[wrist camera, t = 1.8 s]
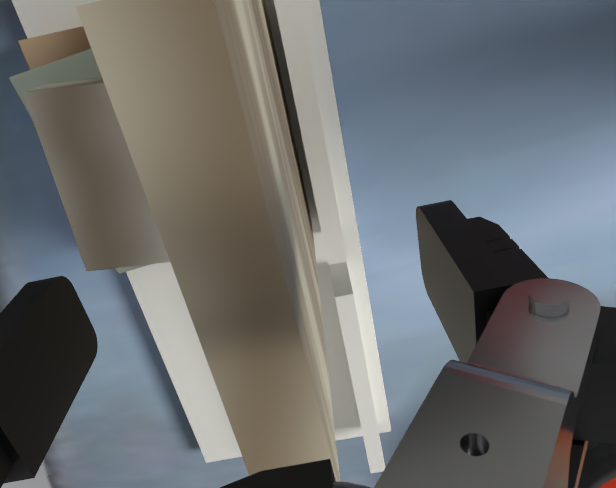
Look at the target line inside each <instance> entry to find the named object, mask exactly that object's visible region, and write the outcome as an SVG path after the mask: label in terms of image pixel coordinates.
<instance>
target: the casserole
mask: <svg viewBox="0 0 616 488" xmlns="http://www.w3.org/2000/svg"><path fill="white" fill-rule="evenodd" d="M578 488H616V444H612V443H602V442H592V441H588V445H587V450H586V454H585V458H584V463H583V467H582V471H581V476H580V480H579V484H578Z"/></svg>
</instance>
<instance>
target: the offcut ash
mask: <svg viewBox="0 0 616 488" xmlns="http://www.w3.org/2000/svg"><path fill="white" fill-rule="evenodd" d="M23 94H24V97H25V100H26V103H27V106H28V108H29V111H30V114H31V117H32V120H33V122H34V125H35V128H36V131H37V134H38V136H39V139H40V142H41V145H42V148H43V150H44V153H45V156H46V159H47V162H48V164H49V167H50V170H51V173H52V176H53V178H54V181H55V184H56V187H57V190H58V192H59V195H60V198H61V201H62V204H63V206H64V209H65V212H66V215H67V218H68V220H69V223H70V226H71V229H72V232H73V234H74V237H75V240H76V243H77V246H78V248H79V251H80V254H81V257H82V259H83V262H84V265H85V268H86V271H93V270H102V269H111V268H120V267H129V266H138V265H147V264H155V263H164V262H170V260H169V257H168V254H167V252H166V249H165V246H164V243H163V241H162V238H161V235H160V233H159V230H158V227H157V225H156V222H155V219H154V216H153V214H152V211H151V208H150V206H149V203H148V200H147V198H146V195H145V192H144V189H143V187H142V184H141V181H140V179H139V176H138V173H137V171H136V168H135V165H134V162H133V160H132V157H131V154H130V152H129V149H128V146H127V144H126V141H125V138H124V135H123V133H122V130H121V127H120V125H119V122H118V119H117V116H116V114H115V111H114V108H113V106H112V103H111V100H110V98H109V95H108V92H107V89H106V87H105V84H104V81H103V79H102V77H101V78H93V79H84V80H76V81H68V82H59V83H51V84H44V85H42V86H39V87H37V88H34V89H31V90H29V91H26V92H23Z"/></svg>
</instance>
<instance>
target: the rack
mask: <svg viewBox="0 0 616 488" xmlns="http://www.w3.org/2000/svg"><path fill="white" fill-rule="evenodd" d="M97 1H101V0H12V3H13V5H14V7H15V10H16V12H17V15H18V17H19V19H20V22H21V24H22V26H23V29H24V31H25V34H26V36H27V38H32V37H37V36H41V35H46V34H50V33H55V32H59V31H64V30H68V29H73V28H77V27H82V26H83V25H82V22H81V19H80V17H79V14H78V11H77V8H76V6H79V5H83V4H88V3H92V2H97ZM265 1H266V6H267V11H268V16H269V20H270V25H271V30H272V35H273V39H274V44H275V49H276V53H277V58H278V63H279V68H280V72H281V77H282V82H283V86H284V91H285V96H286V101H287V105H288V110H289V115H290V119H291V124H292V129H293V134H294V138H295V143H296V148H297V152H298V157H299V162H300V167H301V171H302V176H303V181H304V185H305V190H306V195H307V200H308V204H309V209H310V214H311V219H312V228H313V237H314V247H315V256H316V265H317V274H318V283H319V292H320V301H321V311H322V320H323V329H324V338H325V347H326V356H327V365H328V375H329V384H330V393H331V402H332V411H333V420H334V429H335V439H336V440H342V439H348V438H354V437H360V436H363V438H364V443H365V448H366V452H367V457H368V462H369V467H370V472H371V473H377V472H383V471H384V470H385V463H384V458H383V452H382V447H381V442H380V436H379V433H383V432H389V431H391V426H390V420H389V414H388V408H387V402H386V396H385V390H384V384H383V378H382V372H381V366H380V360H379V354H378V348H377V342H376V336H375V330H374V324H373V318H372V312H371V306H370V300H369V294H368V288H367V283H366V277H365V271H364V265H363V259H362V253H361V247H360V241H359V235H358V229H357V223H356V217H355V211H354V205H353V199H352V193H351V187H350V181H349V175H348V169H347V163H346V157H345V151H344V145H343V139H342V133H341V127H340V121H339V115H338V109H337V103H336V97H335V91H334V85H333V79H332V73H331V67H330V61H329V55H328V49H327V44H326V38H325V32H324V26H323V20H322V14H321V8H320V2H319V0H265ZM126 273H127V276H128V278H129V280H130V283H131V285H132V287H133V290H134V292H135V295H136V297H137V299H138V302H139V304H140V306H141V309H142V311H143V314H144V316H145V318H146V321H147V323H148V325H149V328H150V330H151V333H152V335H153V337H154V340H155V342H156V344H157V347H158V349H159V352H160V354H161V356H162V359H163V361H164V363H165V366H166V368H167V371H168V373H169V375H170V378H171V380H172V382H173V385H174V387H175V390H176V392H177V394H178V397H179V399H180V401H181V404H182V406H183V409H184V411H185V413H186V416H187V418H188V420H189V423H190V425H191V427H192V430H193V432H194V435H195V437H196V439H197V442H198V444H199V446H200V449H201V451H202V454H203V456H204V458H205V461H206V463H208V462H214V461H219V460H225V459H231V458H237V457H242V454H241V451H240V449H239V446H238V443H237V441H236V438H235V435H234V433H233V430H232V427H231V424H230V422H229V419H228V416H227V414H226V411H225V408H224V406H223V403H222V400H221V397H220V395H219V392H218V389H217V387H216V384H215V381H214V379H213V376H212V373H211V370H210V368H209V365H208V362H207V360H206V357H205V354H204V352H203V349H202V346H201V343H200V341H199V338H198V335H197V333H196V330H195V327H194V324H193V322H192V319H191V316H190V314H189V311H188V308H187V306H186V303H185V300H184V297H183V295H182V292H181V289H180V287H179V284H178V281H177V279H176V276H175V273H174V270H173V268H172V265H171V262H164V263H155V264H151V265H147V266H144V267H141V268H137V269H134V270H131V271H127V272H126Z"/></svg>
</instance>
